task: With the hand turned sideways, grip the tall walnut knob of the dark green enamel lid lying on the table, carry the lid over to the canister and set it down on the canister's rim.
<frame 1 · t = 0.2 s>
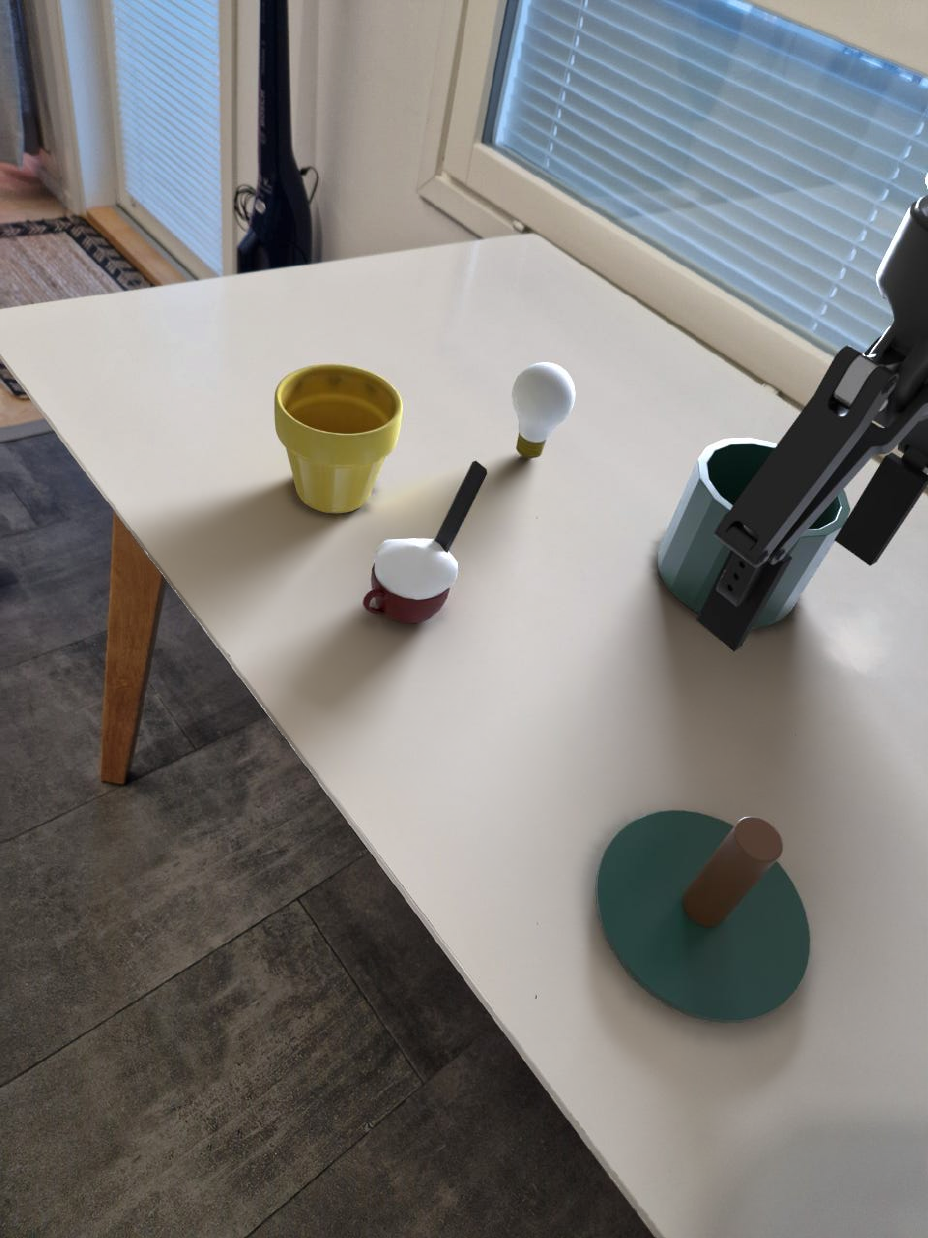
hand: (791, 589, 51), 18 cm above the table, tool pointing down, fingers open, 13 cm apart
canister: (725, 576, 78), on the table
flower pot: (333, 492, 78), on the table
light bulb: (526, 458, 86), on the table
cocoa: (412, 606, 70), on the table
lid: (700, 910, 54), point 1 cm above the table
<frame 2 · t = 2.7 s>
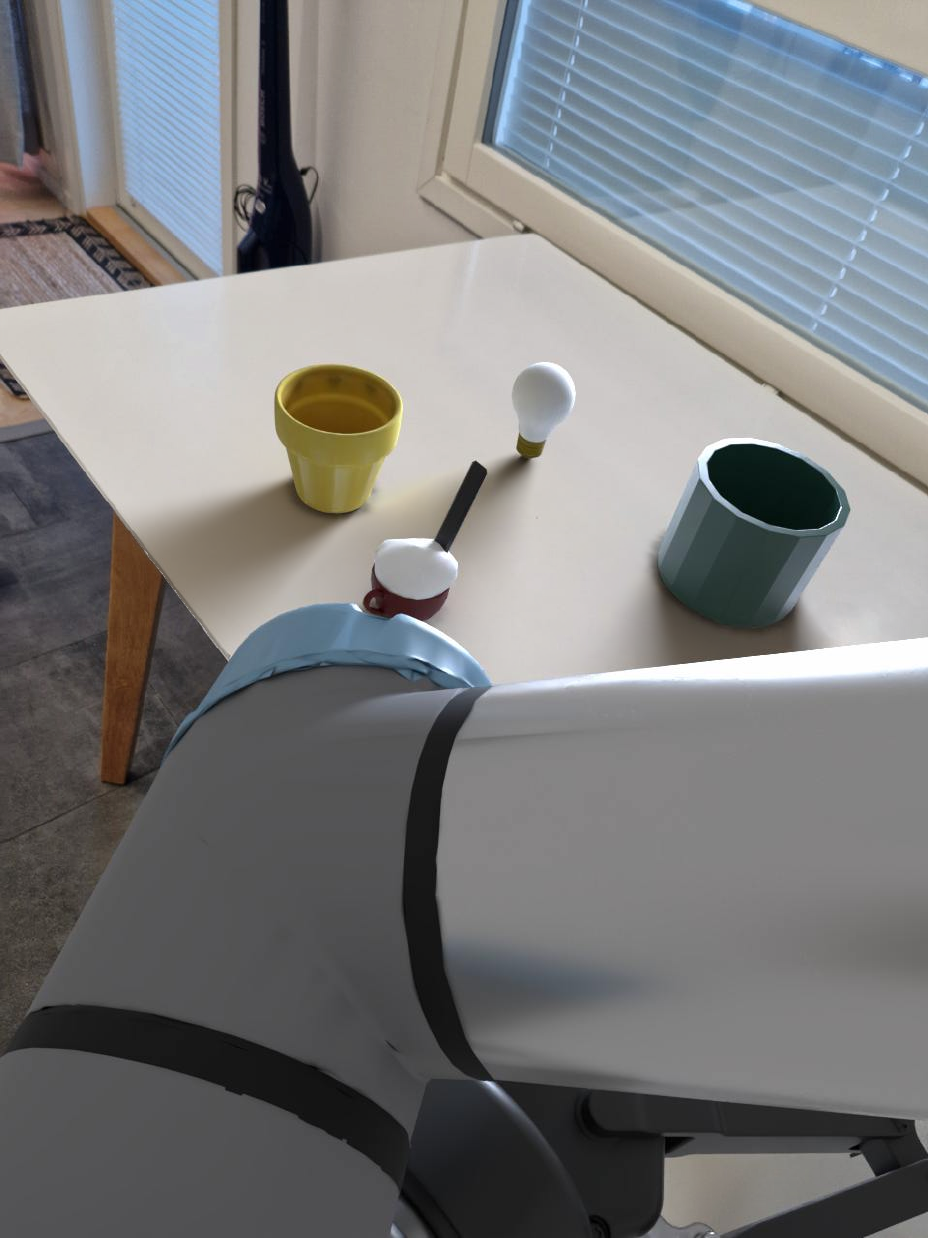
hand: (792, 833, 36), 20 cm above the table, tool horizontal, fingers open, 13 cm apart
nothing on the table moved.
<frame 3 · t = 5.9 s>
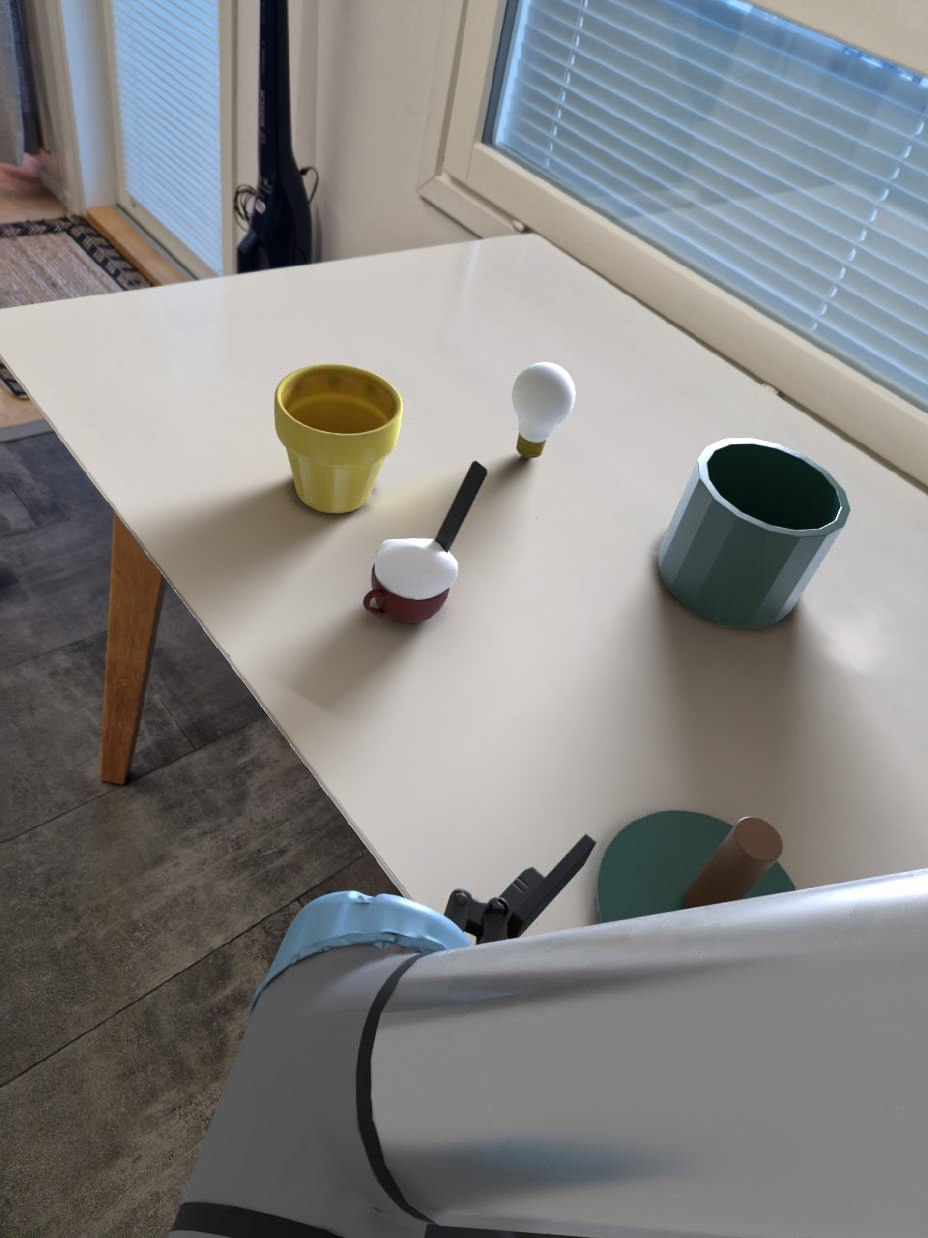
hand: (685, 933, 46), 7 cm above the table, tool horizontal, fingers open, 13 cm apart
nothing on the table moved.
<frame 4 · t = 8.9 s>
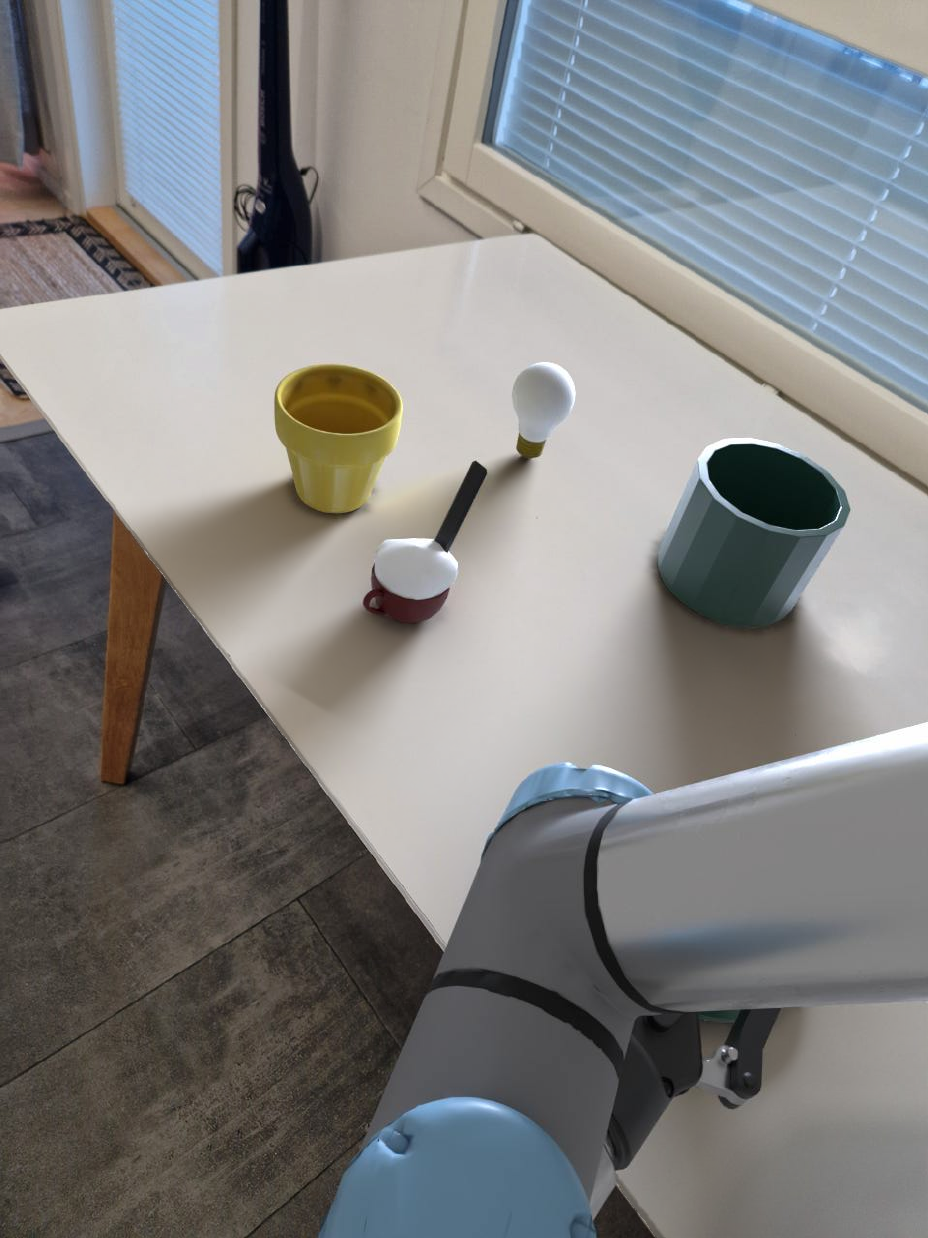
hand: (782, 805, 53), 7 cm above the table, tool horizontal, fingers closed on lid, 3 cm apart
lid: (700, 910, 54), point 1 cm above the table, touching gripper
everything else where it was.
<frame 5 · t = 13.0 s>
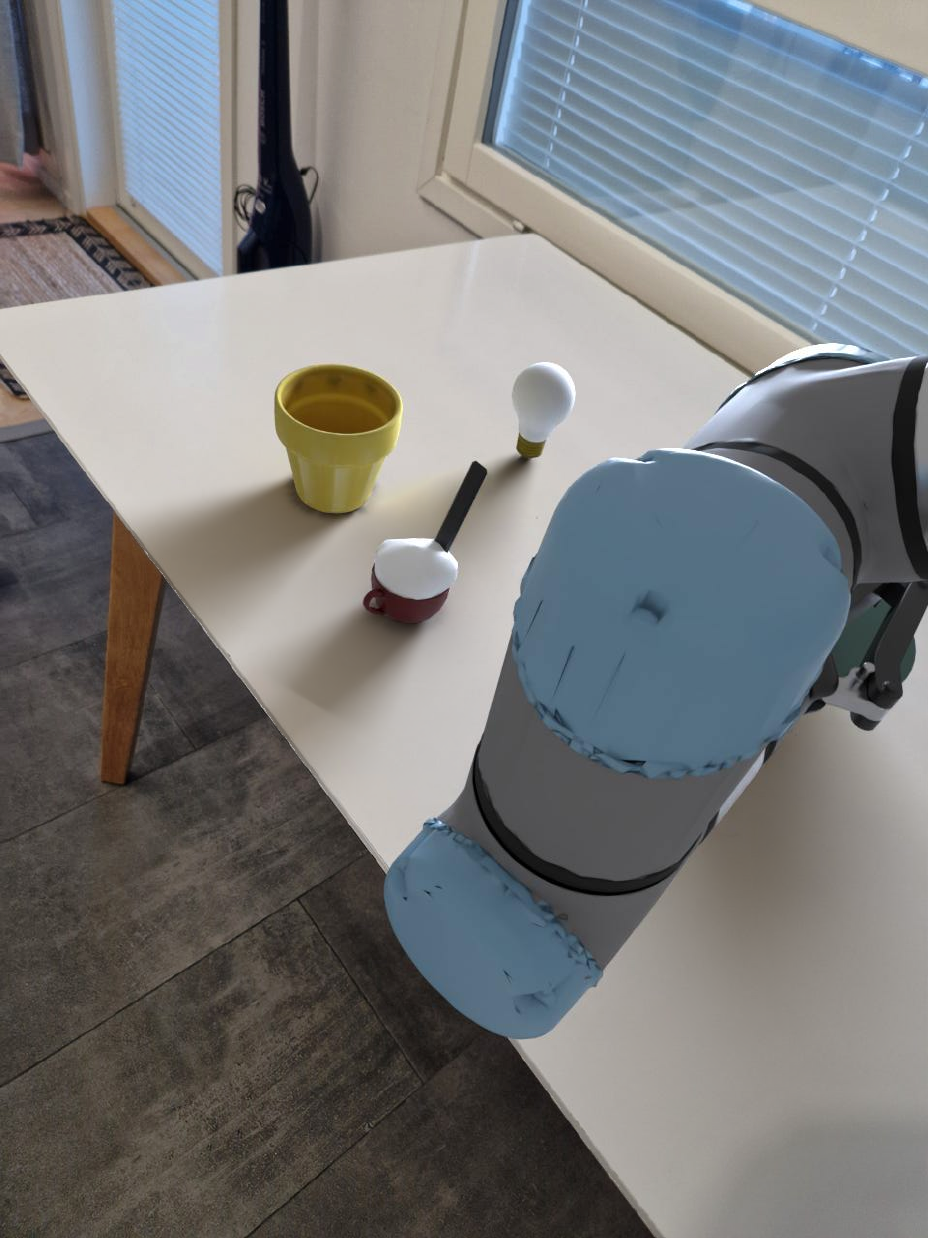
hand: (886, 497, 51), 22 cm above the table, tool horizontal, fingers closed on lid, 3 cm apart
lid: (799, 615, 52), point 16 cm above the table, touching gripper
everything else where it was.
when the fingers open (17 cm above the table, at t = 17.4 s): lid stays where it is, resting on canister.
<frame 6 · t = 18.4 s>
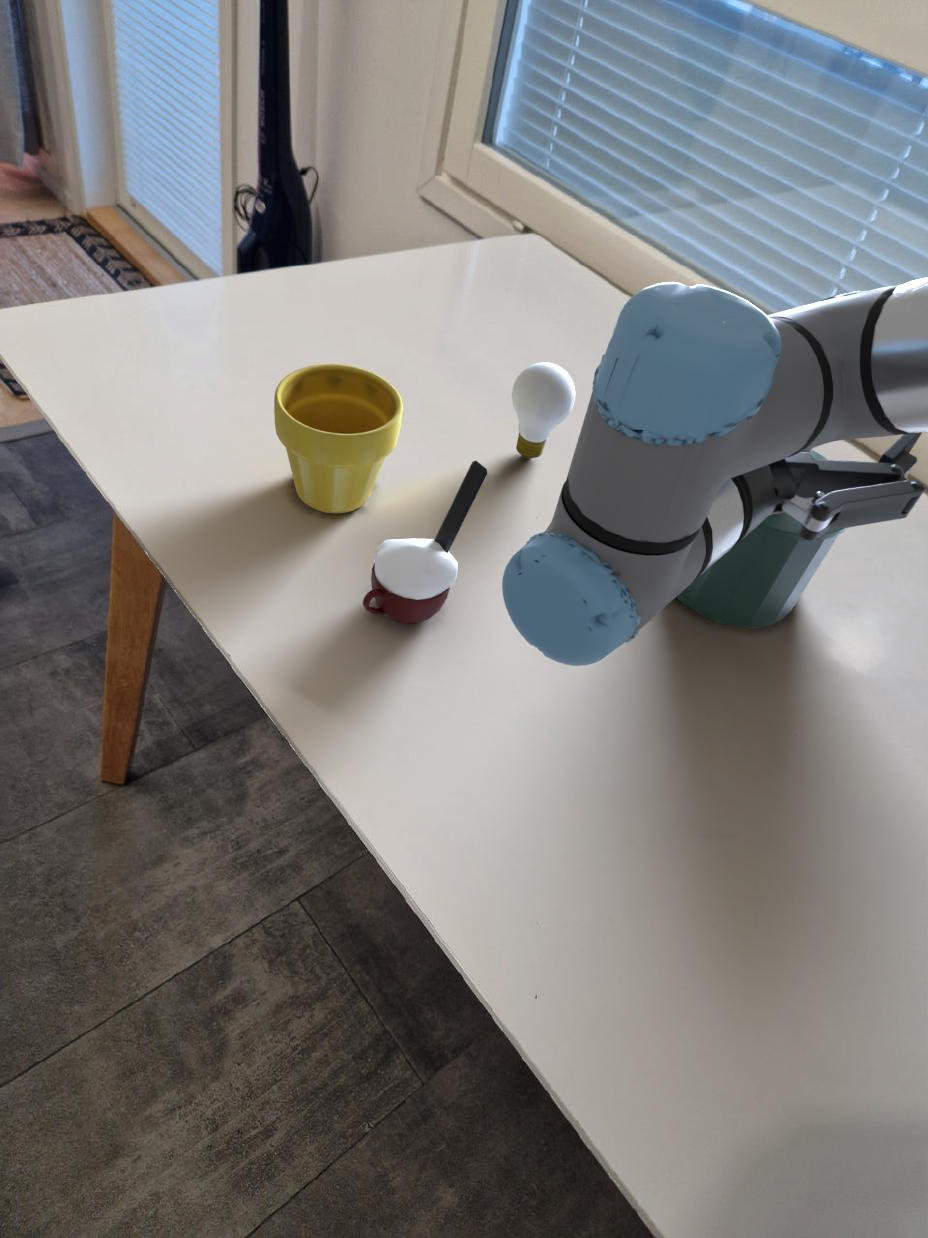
hand: (830, 397, 67), 18 cm above the table, tool horizontal, fingers open, 13 cm apart
lid: (773, 484, 71), point 10 cm above the table, touching canister
everything else where it was.
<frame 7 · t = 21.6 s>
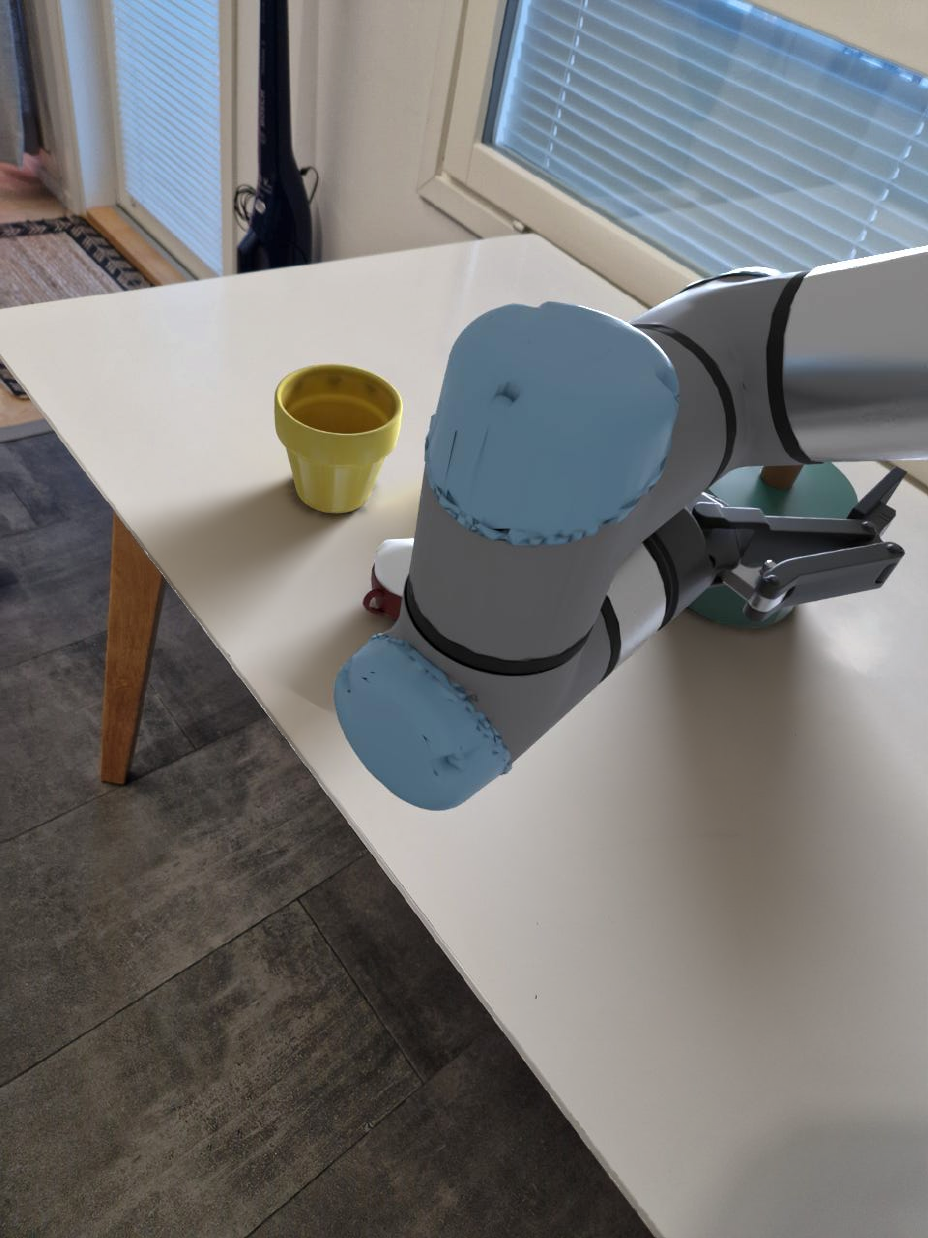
hand: (793, 432, 56), 21 cm above the table, tool horizontal, fingers open, 13 cm apart
nothing on the table moved.
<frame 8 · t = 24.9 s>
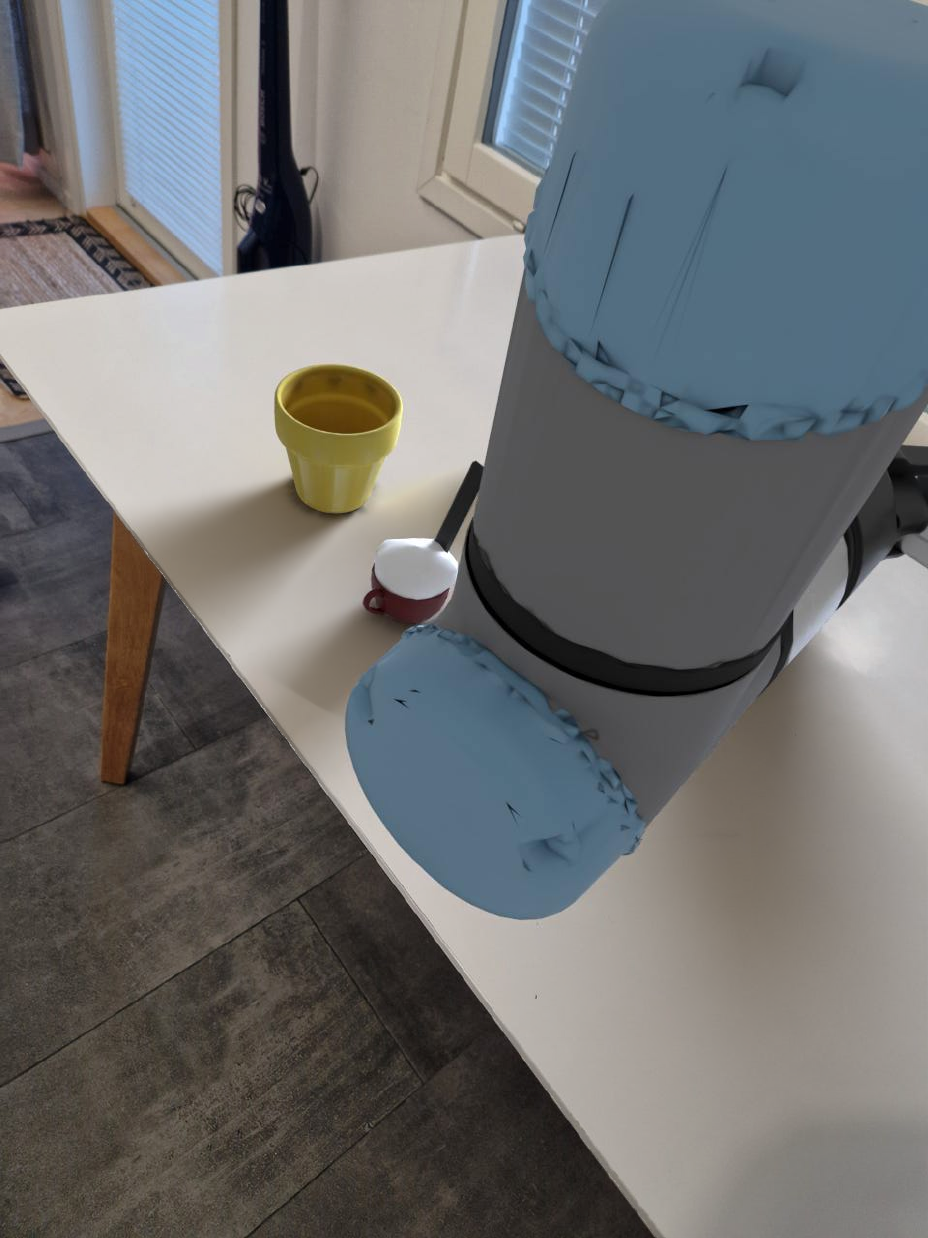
nothing on the table moved.
at the end: lid 0.0 cm off-centre on the canister, point 10.5 cm above the canister's base; lid tilted 0°; the gripper is holding nothing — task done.
